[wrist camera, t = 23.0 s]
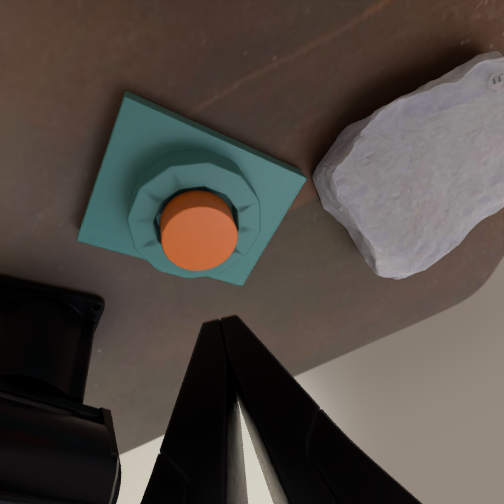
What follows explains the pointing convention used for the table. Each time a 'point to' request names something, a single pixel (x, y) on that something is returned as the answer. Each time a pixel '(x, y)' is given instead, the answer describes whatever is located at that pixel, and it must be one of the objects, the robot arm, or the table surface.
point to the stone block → (420, 169)
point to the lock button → (197, 230)
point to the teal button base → (183, 187)
